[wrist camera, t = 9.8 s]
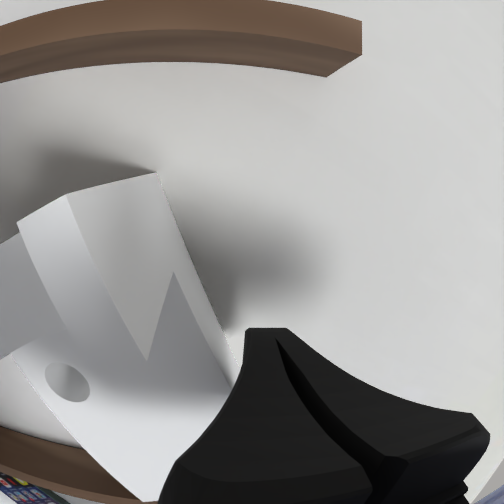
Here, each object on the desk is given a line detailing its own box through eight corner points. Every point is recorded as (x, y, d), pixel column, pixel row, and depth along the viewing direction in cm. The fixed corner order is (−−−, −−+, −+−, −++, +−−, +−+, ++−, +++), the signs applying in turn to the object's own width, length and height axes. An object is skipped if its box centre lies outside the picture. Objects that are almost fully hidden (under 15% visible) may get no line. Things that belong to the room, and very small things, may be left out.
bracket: (14, 242, 11) (-111, 320, 3) (158, 171, 11) (65, 194, 3) (148, 452, 14) (138, 566, 7) (268, 423, 15) (301, 549, 7)
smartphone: (-27, 418, 13) (-33, 428, 12) (114, 524, 17) (113, 534, 16) (-51, 435, 13) (-56, 443, 12) (67, 527, 18) (65, 535, 17)
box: (270, 470, 16) (279, 509, 13) (-23, 426, 13) (-39, 453, 10) (327, 49, 10) (361, 21, 7) (-82, 92, 7) (-117, 89, 4)
